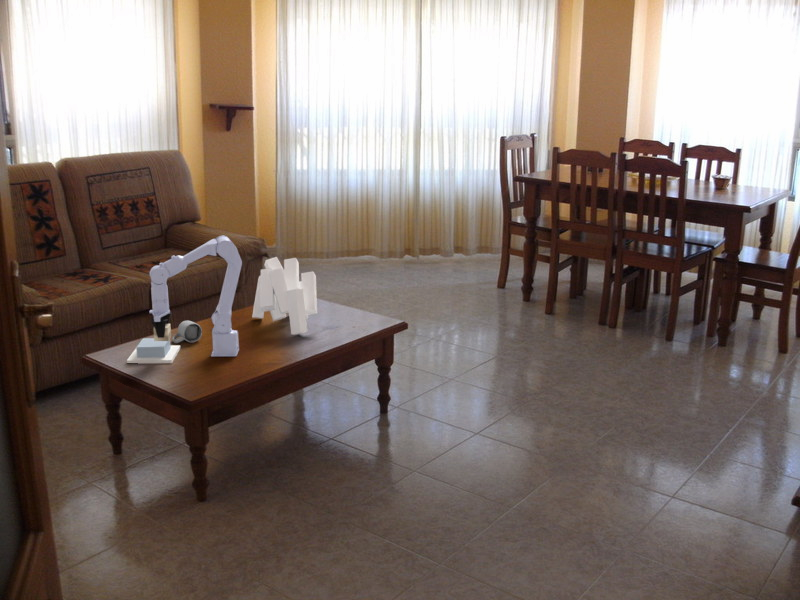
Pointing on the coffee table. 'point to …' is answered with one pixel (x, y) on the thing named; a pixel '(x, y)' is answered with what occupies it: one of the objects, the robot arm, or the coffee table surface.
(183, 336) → the ceramic mug
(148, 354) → the plinth base
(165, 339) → the birch cube
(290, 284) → the pile of blocks
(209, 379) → the coffee table surface
